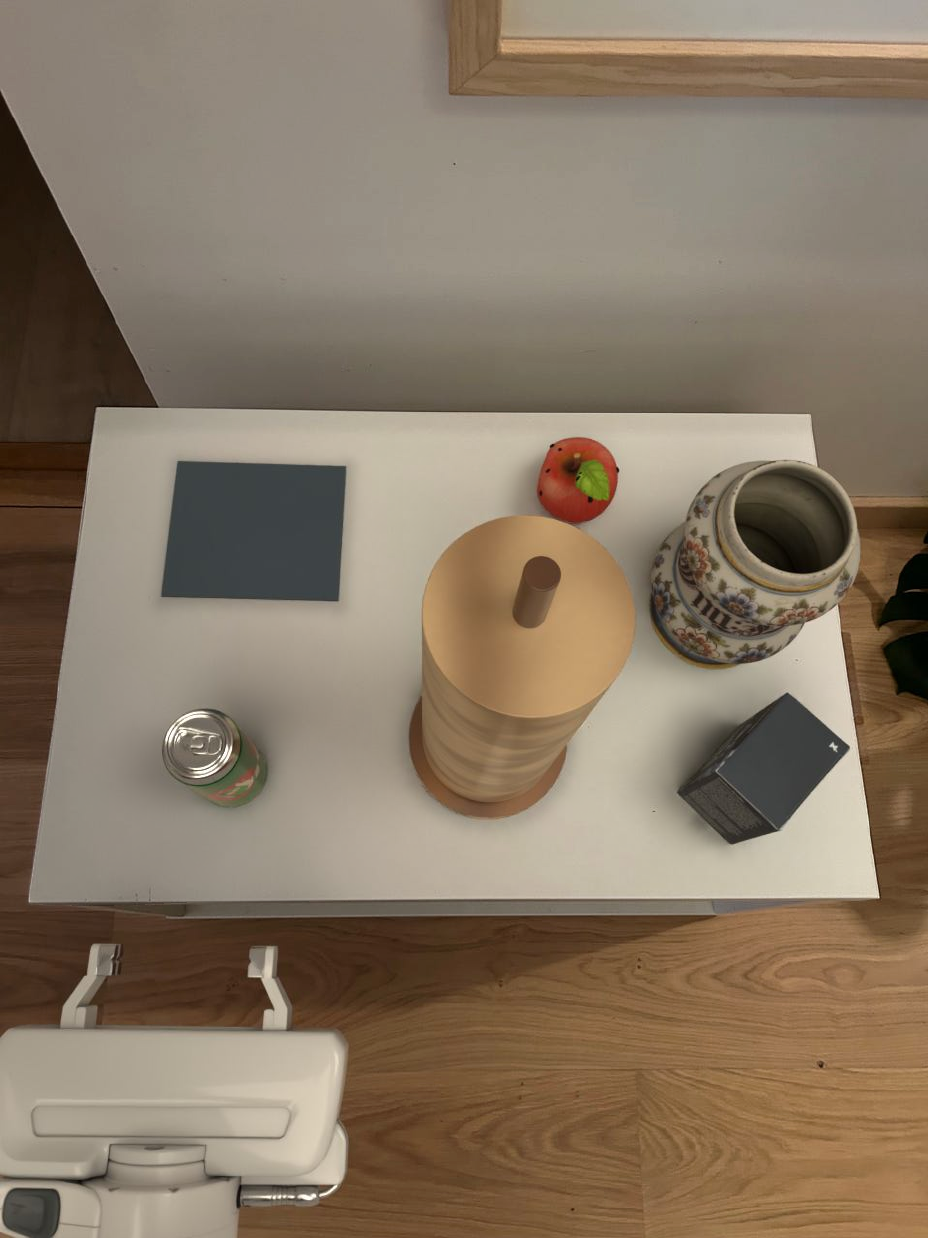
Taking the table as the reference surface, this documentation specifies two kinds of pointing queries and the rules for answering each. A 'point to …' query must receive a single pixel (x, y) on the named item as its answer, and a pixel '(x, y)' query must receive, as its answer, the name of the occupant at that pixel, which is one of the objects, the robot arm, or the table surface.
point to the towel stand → (514, 660)
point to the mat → (255, 531)
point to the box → (764, 771)
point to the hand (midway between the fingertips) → (186, 944)
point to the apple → (577, 480)
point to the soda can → (214, 758)
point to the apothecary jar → (753, 563)
